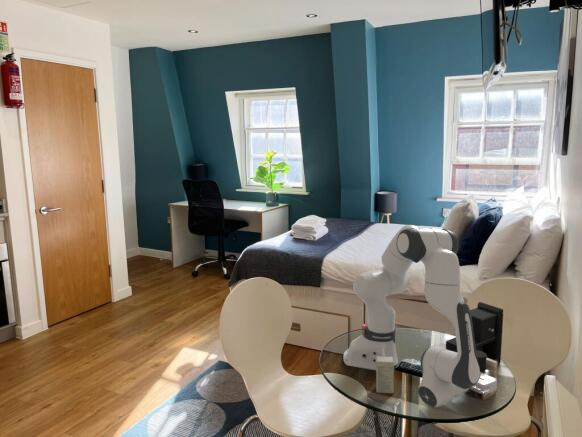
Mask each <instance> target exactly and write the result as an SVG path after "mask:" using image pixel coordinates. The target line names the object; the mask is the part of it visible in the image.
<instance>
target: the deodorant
mask: <svg viewBox="0 0 582 437" xmlns="http://www.w3.org/2000/svg"><path fill="white" fill-rule="evenodd" d="M476 355H477V359H478V362H479V366H480V372H482V373H483V371H484V370H485V369H486V358H487V354H486V353H484V352H482V351H478V350H476ZM465 394H467V395H468V396H469V397H472V398H477V399H482V398H483V394H481V393H478V392H476V391H474V390H472V389H470V388H469V390H468V391H467V392H465Z"/></svg>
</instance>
